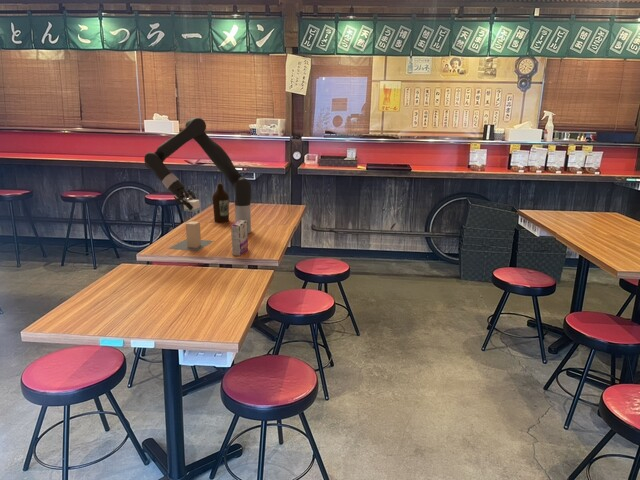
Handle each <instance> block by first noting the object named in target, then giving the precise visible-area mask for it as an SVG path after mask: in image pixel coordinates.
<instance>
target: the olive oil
mask: <svg viewBox="0 0 640 480" xmlns="http://www.w3.org/2000/svg"><path fill="white" fill-rule="evenodd" d="M223 184H224V183H222V182H218V183H217V189H216V191H215V192H214V193H213V194H212V197H211V198H212V207H213V218H214V222H215V223H227V222H229V220H230V218H229V217H230V196H229V194H228V193H227V191H225V190H224V188H223V187H224V186H223Z"/></svg>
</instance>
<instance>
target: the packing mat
mask: <svg viewBox="0 0 640 480" xmlns="http://www.w3.org/2000/svg"><path fill="white" fill-rule="evenodd" d="M213 242H215V240H205V239H201V246H199V247H197V248H192V247H187V238H185V239H184V240H182V241H180V242H178V243H177V244H173V245H172V246H171V247H168V248H167V249H169V250H179V251H180V250H181V251H188V252H200V251H201V250H202V249H204V248H205V247H207V246H208V245H209V246H210V245H211V244H212V243H213Z"/></svg>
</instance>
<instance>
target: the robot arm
mask: <svg viewBox="0 0 640 480" xmlns="http://www.w3.org/2000/svg"><path fill="white" fill-rule="evenodd" d="M184 125H185V127H184V128H183V130H181V131H180V132H179V133H176V134H175V135H173V136H172V137H170V138H168V139H167V140H166V141H164V142H163V143H162V144H160V145H159V146H158V147H157V149H156V151H154V152H147V153H146V154H145V156H144V158H143V159H144V166H145V167H146V169H148V170H152V171H153V172H154V174H155V176H156V177H157V178H158V180H160V181H161V183H162V184H163V186H164V187H165V188H166V189H167V190H168V191H169V192H170V193H171V194H172V195H173V199H175V200H176V202H177V203H179V204H180V205H181V206H184V205H186V206H187V208H188V209H189V210H192V209H193V207H192V205H191V204H190V203H189V202H188V201H187V200H189V199H192V200H196V198H197V197H196V196H195V195H194V194H193V192H192V191H191V189H188V190H186V189H185V185H184V183H182V181H181V180H180V179H179V178H178V177H177V176H176V175H175V174H174V173H173V172H172V171H171V170H170V169H169V168H168V167H167V166H166V165H165V164H164V162H165V160H166V159H167V158H168V157H170V156H171V155H173V154H174V153H175V152H177V151H178V150H179V149H180V148H181V147H183V146H184V145H185V144H186V143H189V141H191V140H192V139H193V140H194V141H195V142H196V143H197V144H198V145H199V146H200V147H201V149H202V151H204V153H205V154H206V155H207V157H208V158H209V159H210V160H211V162H212V163H213V164H214V165H215V166H216V168H217V169H218V170H219V171H220V172H221V173H222V174H223V175H224V176H225V177H226V178H227V180H228V181H229V183H230V184H231V186H232V187H233V189H234V191H235V199H234V219H235V220H234V223H235V222H237V221H238V220H245V221H247V235H248V234H249V235H250V234H251V233H252V212H251V210H252V209H251V201H252V185H251V184H252V183H251V181H250V180H249V179H247V178H246V177H244V176H243V175H242V174H241V173H240V172H239V171H238V170H237V168H236V167H235V165H234V164H233V161H232V159H231V157H230V156H229V155H228V154H227V152H226V151H225V149H224V148H223V147H222V146H221V145H219V144H218V143H217V142H215V141H214V140H213V139H212V138H211V137H210V136H208V134H207V132H206V129H207V124H206V121H204V119H203V118H200V117H193V118H190V119H188V120H187V121H186V122H185V124H184Z"/></svg>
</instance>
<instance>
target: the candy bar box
mask: <svg viewBox="0 0 640 480" xmlns="http://www.w3.org/2000/svg"><path fill="white" fill-rule="evenodd" d="M230 229H231V230H230V231H231V248H232V256H234V255H242V254H243V253H244V252H245V253H246V252H247V251H249V243H248V241H249V239H248V234H247V221H245V220H238V221H237V222H235V221H234V223H232V224H231V225H230ZM245 253H244V254H245ZM244 254H243V255H244ZM243 255H242V256H243Z"/></svg>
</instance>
